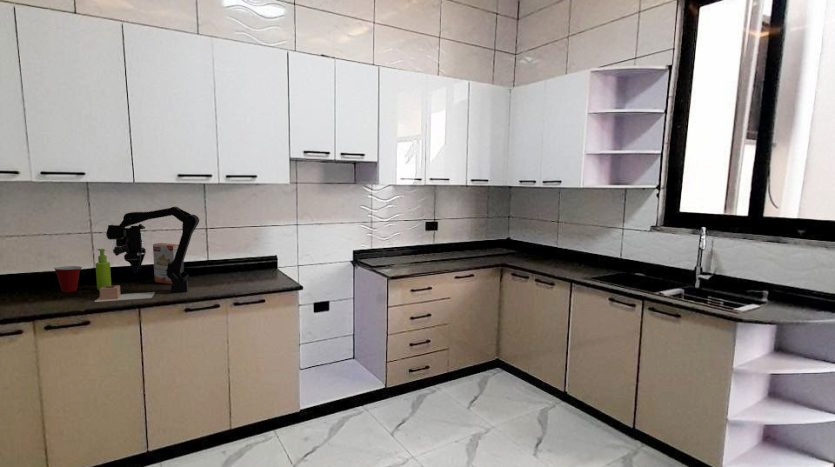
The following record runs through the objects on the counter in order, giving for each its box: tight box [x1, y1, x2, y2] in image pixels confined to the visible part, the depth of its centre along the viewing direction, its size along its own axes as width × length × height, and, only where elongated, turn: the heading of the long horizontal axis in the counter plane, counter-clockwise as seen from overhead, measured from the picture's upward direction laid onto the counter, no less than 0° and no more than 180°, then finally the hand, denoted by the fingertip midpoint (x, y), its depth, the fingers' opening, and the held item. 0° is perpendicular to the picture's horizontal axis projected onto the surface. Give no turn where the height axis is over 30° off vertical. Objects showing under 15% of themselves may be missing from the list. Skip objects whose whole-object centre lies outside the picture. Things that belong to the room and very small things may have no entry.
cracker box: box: [152, 242, 179, 285], centre depth 235 cm, size 14×6×21 cm, turn 72°
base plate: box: [94, 291, 156, 303], centre depth 204 cm, size 22×11×1 cm, turn 113°
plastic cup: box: [53, 265, 83, 293], centre depth 215 cm, size 11×11×12 cm
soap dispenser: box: [95, 248, 112, 291], centre depth 220 cm, size 6×7×20 cm
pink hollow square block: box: [99, 284, 121, 300], centre depth 201 cm, size 7×6×5 cm
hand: (136, 271), depth 209 cm, fingers open, 9 cm apart
